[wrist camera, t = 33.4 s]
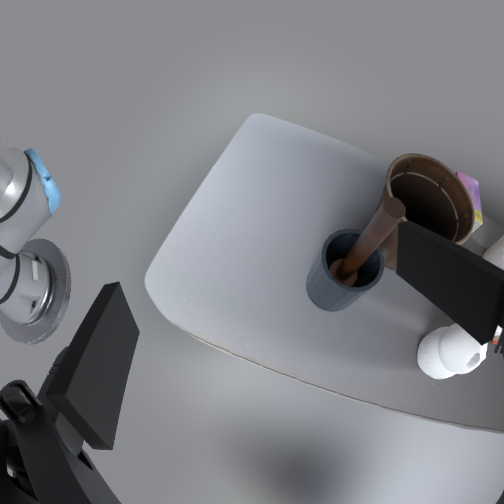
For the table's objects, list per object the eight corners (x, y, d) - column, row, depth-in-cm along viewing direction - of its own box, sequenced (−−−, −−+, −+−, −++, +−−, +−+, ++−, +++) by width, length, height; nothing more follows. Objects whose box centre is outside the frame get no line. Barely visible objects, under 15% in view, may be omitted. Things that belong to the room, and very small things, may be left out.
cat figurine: (413, 325, 44) (464, 304, 30) (462, 336, 42) (515, 319, 29) (404, 376, 40) (457, 372, 27) (455, 382, 39) (510, 377, 25)
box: (431, 201, 54) (457, 169, 43) (451, 210, 53) (478, 181, 42) (430, 241, 50) (461, 212, 39) (451, 250, 49) (483, 223, 39)
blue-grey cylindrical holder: (314, 317, 45) (333, 299, 34) (299, 267, 48) (312, 235, 37) (362, 303, 46) (393, 282, 35) (346, 256, 49) (370, 223, 38)
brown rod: (324, 300, 45) (385, 232, 23) (317, 275, 47) (366, 191, 25) (349, 294, 46) (421, 224, 24) (341, 269, 47) (402, 185, 25)
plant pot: (368, 290, 47) (412, 252, 32) (344, 208, 53) (371, 152, 38) (438, 274, 47) (488, 238, 33) (412, 203, 54) (448, 154, 39)
